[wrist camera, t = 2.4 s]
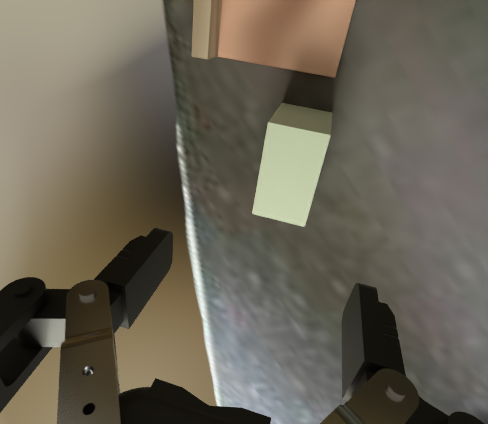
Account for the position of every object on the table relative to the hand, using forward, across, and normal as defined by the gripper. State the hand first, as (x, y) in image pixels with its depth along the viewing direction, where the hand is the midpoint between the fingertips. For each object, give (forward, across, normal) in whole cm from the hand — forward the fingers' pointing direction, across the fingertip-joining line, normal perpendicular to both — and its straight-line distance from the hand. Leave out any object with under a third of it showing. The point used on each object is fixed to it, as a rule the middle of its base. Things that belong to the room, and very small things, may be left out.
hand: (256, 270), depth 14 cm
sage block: (+16, 0, 0) cm, 16 cm away
